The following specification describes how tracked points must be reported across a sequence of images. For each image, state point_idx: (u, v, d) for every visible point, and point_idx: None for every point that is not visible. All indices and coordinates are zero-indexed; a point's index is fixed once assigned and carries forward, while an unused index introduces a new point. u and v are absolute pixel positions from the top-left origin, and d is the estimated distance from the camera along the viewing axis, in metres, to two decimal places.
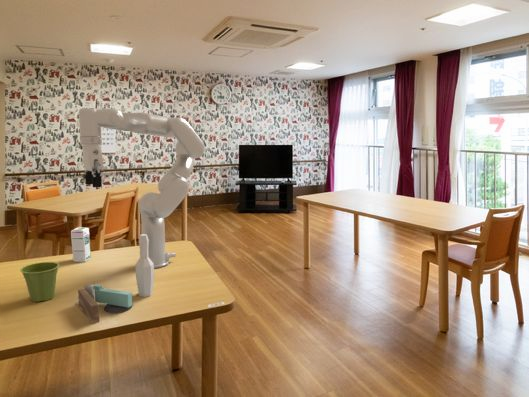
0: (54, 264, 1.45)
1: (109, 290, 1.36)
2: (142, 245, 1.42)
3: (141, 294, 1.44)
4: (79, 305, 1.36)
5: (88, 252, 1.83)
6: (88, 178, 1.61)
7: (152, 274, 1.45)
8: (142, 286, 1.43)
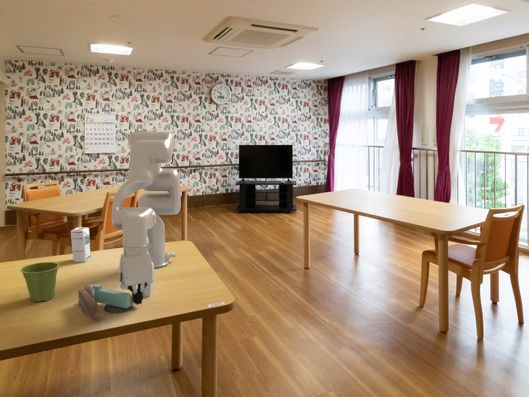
0: (54, 264, 1.45)
1: (108, 290, 1.35)
2: None
3: None
4: (79, 305, 1.36)
5: (88, 252, 1.83)
6: None
7: None
8: None
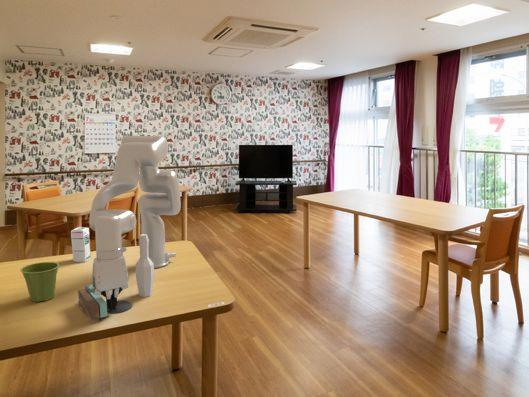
0: (54, 264, 1.45)
1: (96, 295, 1.32)
2: (142, 246, 1.42)
3: (141, 294, 1.44)
4: (79, 305, 1.36)
5: (88, 252, 1.83)
6: None
7: (152, 274, 1.45)
8: (142, 286, 1.43)
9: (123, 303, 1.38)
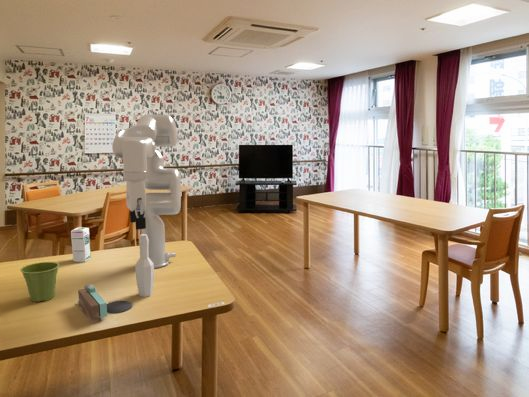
0: (54, 264, 1.45)
1: (96, 295, 1.32)
2: (142, 245, 1.42)
3: (141, 294, 1.44)
4: (79, 305, 1.36)
5: (88, 252, 1.83)
6: None
7: (152, 274, 1.45)
8: (142, 286, 1.43)
9: (123, 303, 1.38)
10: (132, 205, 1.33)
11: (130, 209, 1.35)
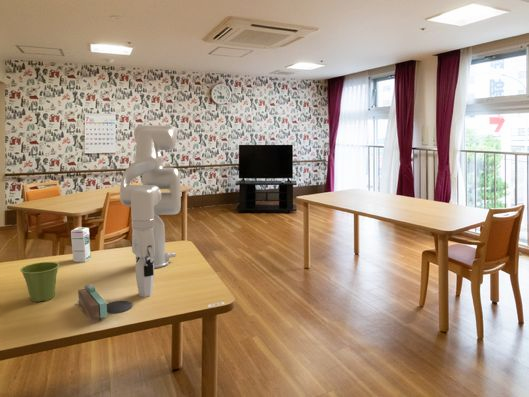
0: (54, 264, 1.45)
1: (96, 295, 1.32)
2: None
3: (141, 294, 1.44)
4: (79, 305, 1.36)
5: (88, 252, 1.83)
6: None
7: None
8: (142, 286, 1.43)
9: (123, 303, 1.38)
10: (142, 252, 1.39)
11: (140, 256, 1.40)
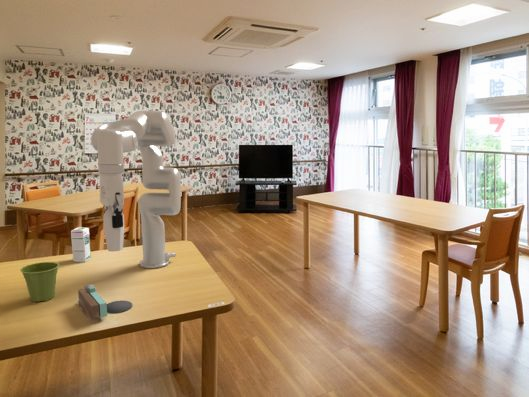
0: (54, 264, 1.45)
1: (96, 295, 1.32)
2: None
3: (110, 248, 1.30)
4: (79, 305, 1.36)
5: (88, 252, 1.83)
6: None
7: None
8: (110, 240, 1.29)
9: (123, 303, 1.38)
10: (110, 200, 1.24)
11: (107, 205, 1.26)
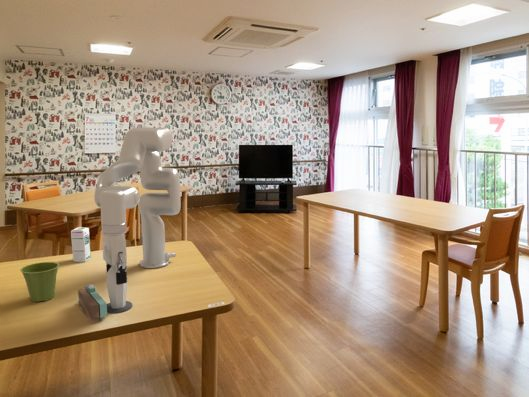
0: (54, 264, 1.45)
1: (96, 295, 1.32)
2: None
3: (113, 306, 1.34)
4: (79, 305, 1.36)
5: (88, 252, 1.83)
6: None
7: (125, 284, 1.34)
8: (114, 298, 1.33)
9: None
10: (113, 260, 1.28)
11: (110, 264, 1.29)
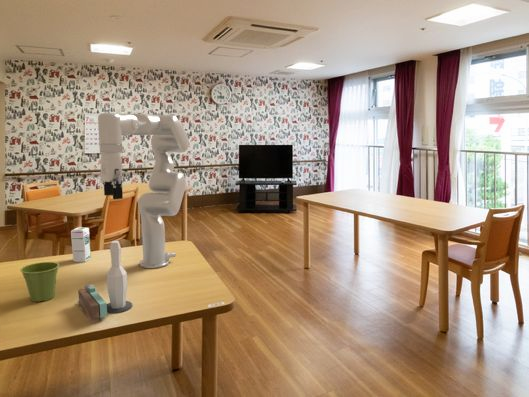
0: (54, 264, 1.45)
1: (96, 295, 1.32)
2: (113, 253, 1.31)
3: (113, 306, 1.34)
4: (79, 305, 1.36)
5: (88, 252, 1.83)
6: None
7: (125, 284, 1.34)
8: (114, 298, 1.33)
9: None
10: (109, 175, 1.40)
11: (107, 180, 1.41)
